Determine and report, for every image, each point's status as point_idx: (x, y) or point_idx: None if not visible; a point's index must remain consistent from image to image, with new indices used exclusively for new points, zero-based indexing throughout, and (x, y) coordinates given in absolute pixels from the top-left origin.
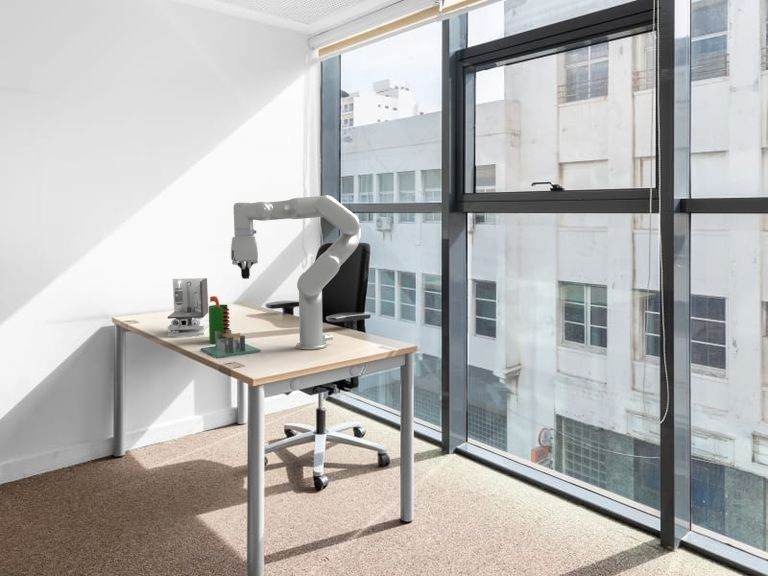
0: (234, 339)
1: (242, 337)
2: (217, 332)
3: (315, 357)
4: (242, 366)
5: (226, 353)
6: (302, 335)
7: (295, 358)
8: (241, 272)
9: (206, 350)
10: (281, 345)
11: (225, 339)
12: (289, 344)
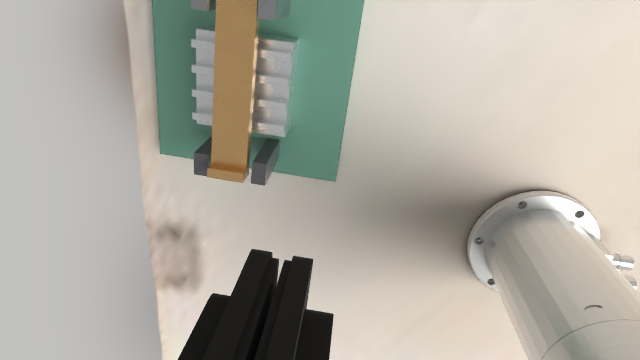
0: (254, 105)
1: (254, 181)
2: (193, 8)
3: (410, 349)
4: (190, 285)
5: (202, 143)
6: (496, 277)
7: (360, 320)
8: (188, 348)
9: (155, 29)
10: (476, 138)
11: None
12: (513, 146)
